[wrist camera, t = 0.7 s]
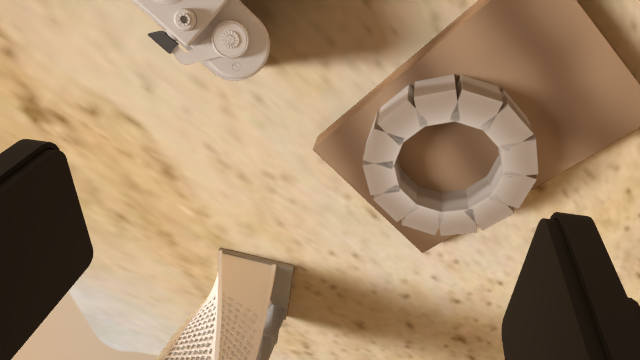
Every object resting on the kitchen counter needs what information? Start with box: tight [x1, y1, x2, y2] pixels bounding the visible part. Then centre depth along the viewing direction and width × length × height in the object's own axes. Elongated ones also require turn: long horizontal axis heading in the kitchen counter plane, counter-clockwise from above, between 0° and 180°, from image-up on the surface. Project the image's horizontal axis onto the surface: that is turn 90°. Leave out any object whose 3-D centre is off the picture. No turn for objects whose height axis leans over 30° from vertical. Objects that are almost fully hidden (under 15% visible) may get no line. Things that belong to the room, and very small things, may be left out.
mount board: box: [313, 0, 640, 253], centre depth 32 cm, size 18×12×4 cm, turn 136°
